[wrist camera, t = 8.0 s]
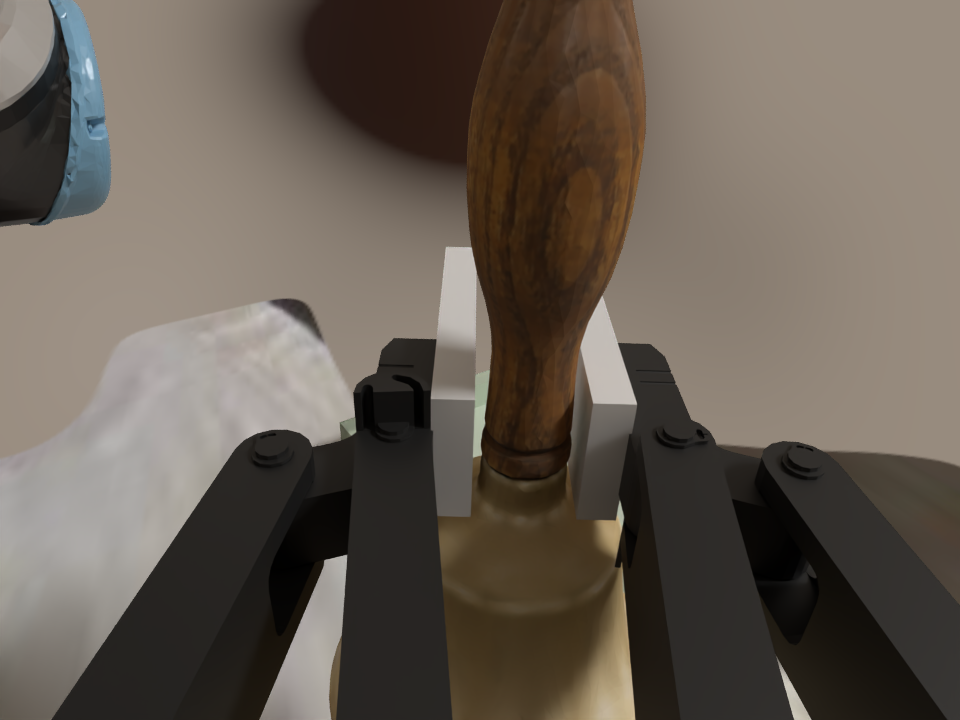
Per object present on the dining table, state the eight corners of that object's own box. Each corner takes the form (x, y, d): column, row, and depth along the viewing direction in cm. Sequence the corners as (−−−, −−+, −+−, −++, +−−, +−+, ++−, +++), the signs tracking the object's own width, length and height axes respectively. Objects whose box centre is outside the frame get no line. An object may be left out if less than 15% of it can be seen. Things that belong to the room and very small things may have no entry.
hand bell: (724, 648, 18) (967, -73, 10) (562, 972, 13) (818, -94, 4) (467, 509, 22) (487, -90, 14) (255, 707, 17) (72, -112, 8)
